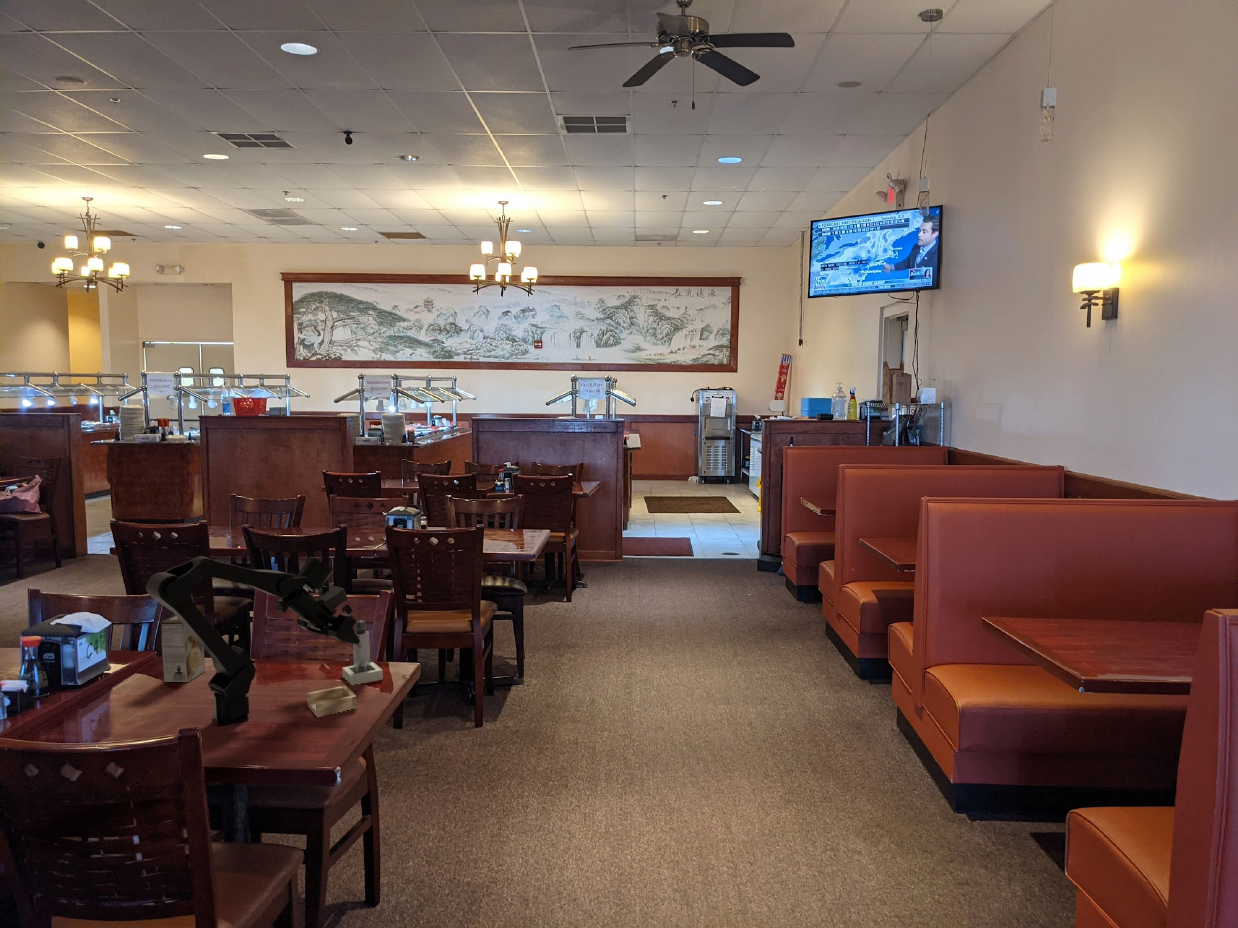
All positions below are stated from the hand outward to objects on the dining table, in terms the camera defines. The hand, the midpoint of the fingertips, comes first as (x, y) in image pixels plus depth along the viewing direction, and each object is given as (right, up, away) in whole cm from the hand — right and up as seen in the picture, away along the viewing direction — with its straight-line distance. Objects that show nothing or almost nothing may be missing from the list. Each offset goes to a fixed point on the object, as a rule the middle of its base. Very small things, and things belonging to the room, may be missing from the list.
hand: (348, 639), depth 216 cm
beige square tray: (+1, -13, -16) cm, 20 cm away
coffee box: (-45, -11, +6) cm, 46 cm away
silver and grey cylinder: (+2, -11, +4) cm, 12 cm away
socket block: (+2, -11, +4) cm, 12 cm away
